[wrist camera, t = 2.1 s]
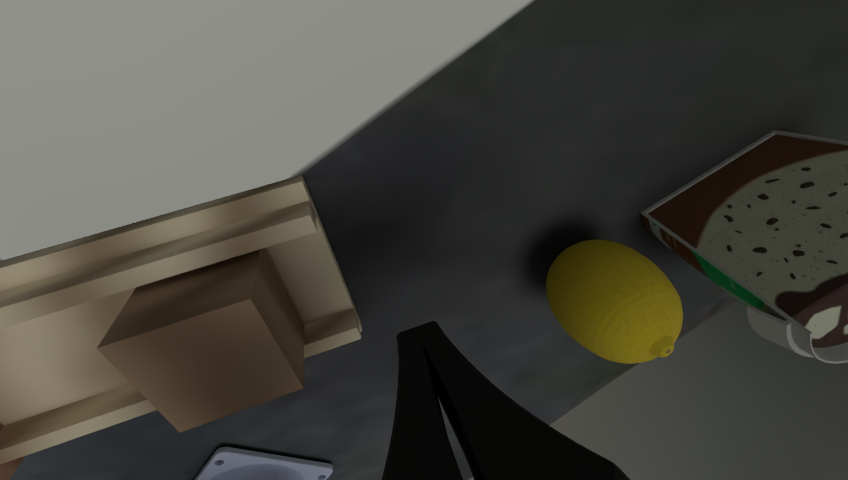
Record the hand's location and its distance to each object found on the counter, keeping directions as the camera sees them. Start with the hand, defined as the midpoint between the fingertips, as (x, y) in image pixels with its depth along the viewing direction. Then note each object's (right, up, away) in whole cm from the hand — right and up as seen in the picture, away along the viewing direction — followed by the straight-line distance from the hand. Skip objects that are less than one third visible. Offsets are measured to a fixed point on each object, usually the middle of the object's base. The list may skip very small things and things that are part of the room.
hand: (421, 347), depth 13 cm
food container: (+19, +6, +12) cm, 23 cm away
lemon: (+9, +3, +10) cm, 14 cm away
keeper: (-9, +1, +4) cm, 10 cm away
